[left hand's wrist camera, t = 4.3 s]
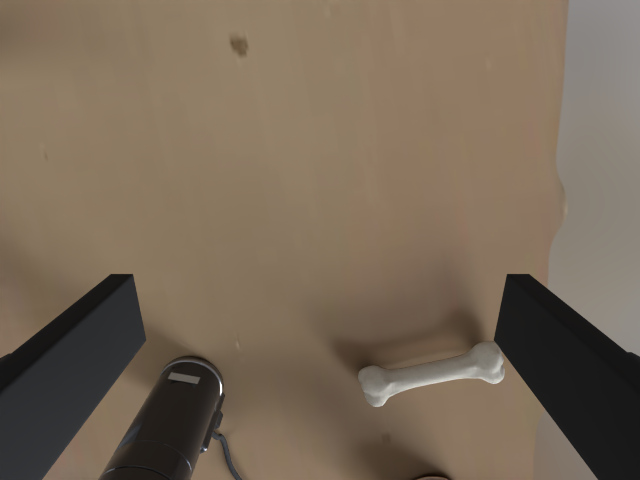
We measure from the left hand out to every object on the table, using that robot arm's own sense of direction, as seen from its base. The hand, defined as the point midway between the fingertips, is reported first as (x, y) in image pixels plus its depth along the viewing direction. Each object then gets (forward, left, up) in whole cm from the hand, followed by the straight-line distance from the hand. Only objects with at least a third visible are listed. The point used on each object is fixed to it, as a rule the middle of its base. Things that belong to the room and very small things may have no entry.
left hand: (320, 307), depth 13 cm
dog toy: (+29, +16, -32) cm, 46 cm away
